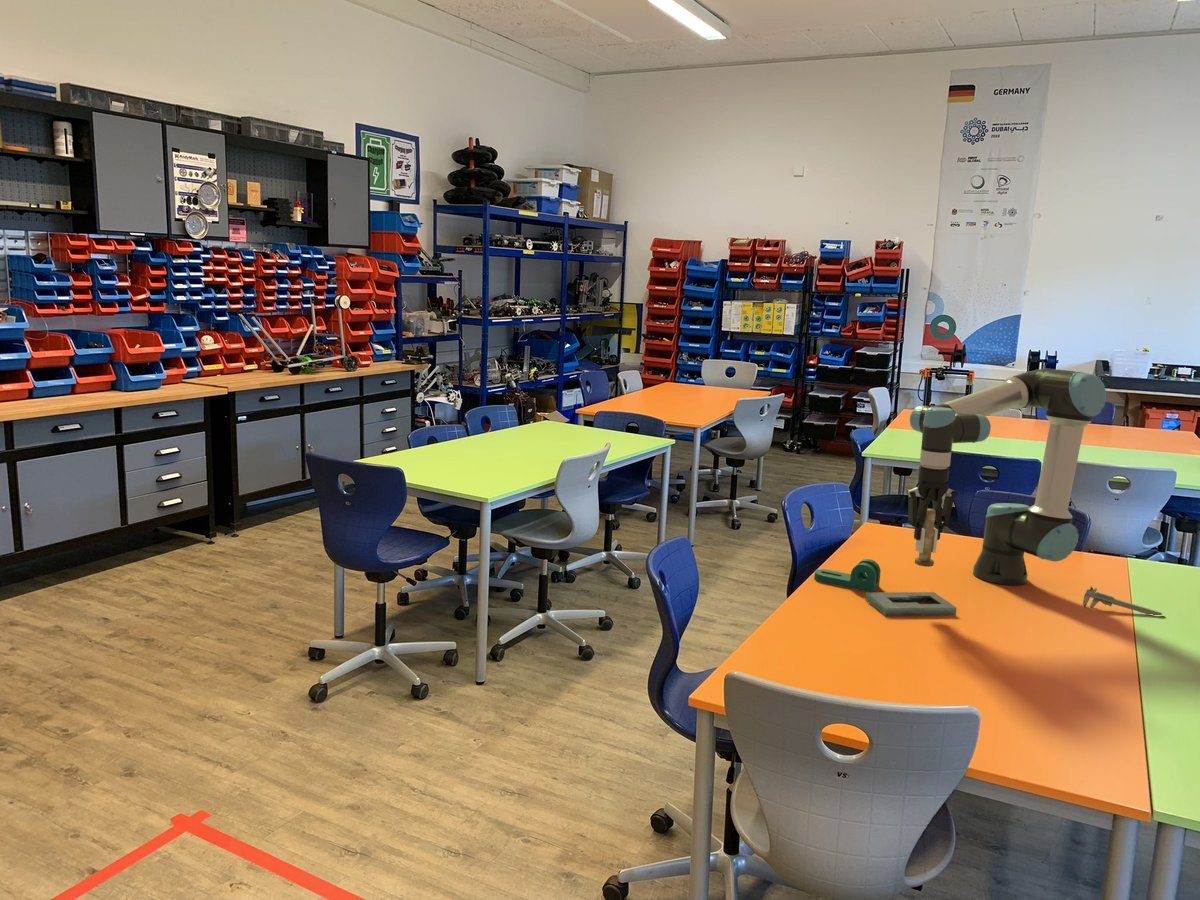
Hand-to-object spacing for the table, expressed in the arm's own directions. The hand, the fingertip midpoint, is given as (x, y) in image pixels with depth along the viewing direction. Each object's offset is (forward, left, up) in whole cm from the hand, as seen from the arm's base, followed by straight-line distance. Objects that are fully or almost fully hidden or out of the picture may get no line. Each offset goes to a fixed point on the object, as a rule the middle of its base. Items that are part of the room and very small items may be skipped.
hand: (925, 551), depth 236 cm
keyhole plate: (+3, 0, -16) cm, 16 cm away
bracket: (+13, -20, -16) cm, 29 cm away
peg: (0, 0, -4) cm, 4 cm away
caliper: (-58, +4, -16) cm, 61 cm away
